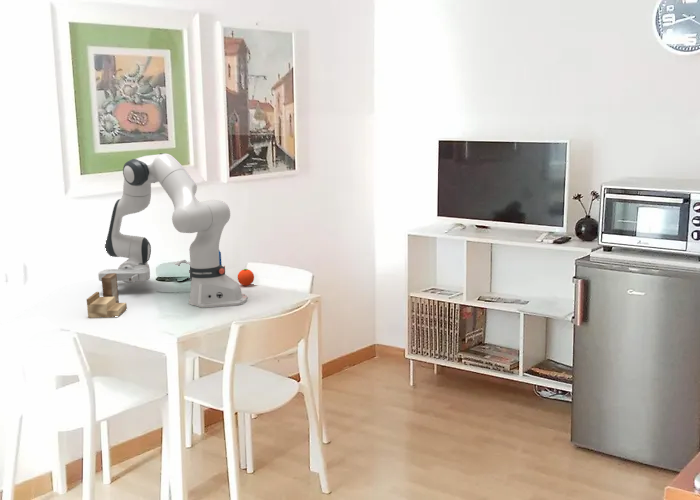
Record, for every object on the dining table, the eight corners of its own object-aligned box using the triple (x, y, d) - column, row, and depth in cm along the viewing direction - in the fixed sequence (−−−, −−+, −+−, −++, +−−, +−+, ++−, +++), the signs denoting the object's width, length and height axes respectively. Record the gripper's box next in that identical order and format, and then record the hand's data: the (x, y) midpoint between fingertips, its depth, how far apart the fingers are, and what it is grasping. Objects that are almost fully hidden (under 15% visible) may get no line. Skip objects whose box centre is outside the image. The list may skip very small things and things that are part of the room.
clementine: (238, 283, 338) (237, 267, 337) (254, 282, 339) (253, 266, 338) (237, 287, 330) (236, 271, 329) (254, 287, 331) (253, 270, 330)
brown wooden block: (119, 303, 311) (116, 273, 309) (112, 308, 303) (110, 277, 301) (110, 303, 311) (108, 273, 309) (104, 308, 303) (101, 278, 301)
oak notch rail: (126, 309, 302) (125, 291, 300) (118, 317, 291) (116, 298, 290) (98, 309, 302) (96, 291, 301) (88, 317, 291) (86, 299, 290)
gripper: (103, 264, 331) (92, 272, 317) (152, 264, 331) (143, 271, 317) (104, 279, 332) (93, 287, 319) (153, 278, 332) (144, 287, 318)
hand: (119, 279), depth 318 cm, fingers open, 8 cm apart
